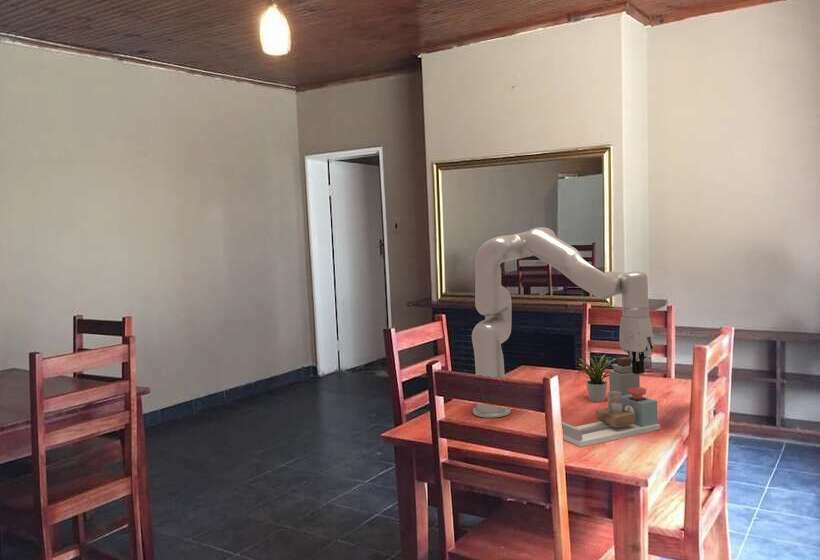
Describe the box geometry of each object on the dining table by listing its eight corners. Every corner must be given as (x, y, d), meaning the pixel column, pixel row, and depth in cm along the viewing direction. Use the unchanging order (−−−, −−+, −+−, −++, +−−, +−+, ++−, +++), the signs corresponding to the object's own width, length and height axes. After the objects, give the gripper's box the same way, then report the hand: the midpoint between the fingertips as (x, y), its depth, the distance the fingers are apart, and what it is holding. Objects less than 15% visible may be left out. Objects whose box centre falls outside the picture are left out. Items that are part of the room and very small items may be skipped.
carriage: (596, 420, 206) (595, 390, 205) (614, 416, 208) (613, 387, 208) (616, 427, 197) (615, 397, 197) (635, 423, 200) (634, 393, 199)
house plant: (617, 393, 244) (616, 348, 243) (625, 404, 231) (624, 356, 229) (576, 394, 246) (575, 350, 244) (582, 405, 232) (581, 358, 231)
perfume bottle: (621, 416, 217) (620, 361, 215) (610, 411, 223) (608, 357, 222) (640, 414, 219) (639, 359, 217) (628, 408, 225) (626, 355, 224)
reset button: (624, 398, 207) (624, 388, 207) (637, 395, 209) (637, 386, 209) (636, 402, 202) (636, 392, 202) (650, 399, 205) (649, 389, 204)
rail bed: (555, 435, 202) (554, 420, 201) (631, 419, 213) (631, 405, 213) (581, 447, 191) (580, 431, 190) (660, 429, 202) (659, 414, 202)
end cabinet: (617, 419, 210) (617, 396, 209) (633, 415, 212) (633, 393, 212) (640, 427, 201) (640, 404, 200) (657, 423, 203) (657, 400, 203)
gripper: (609, 312, 209) (611, 371, 210) (643, 316, 195) (646, 379, 197) (628, 309, 212) (630, 367, 213) (663, 313, 198) (666, 375, 200)
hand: (638, 373), depth 205 cm, fingers closed
